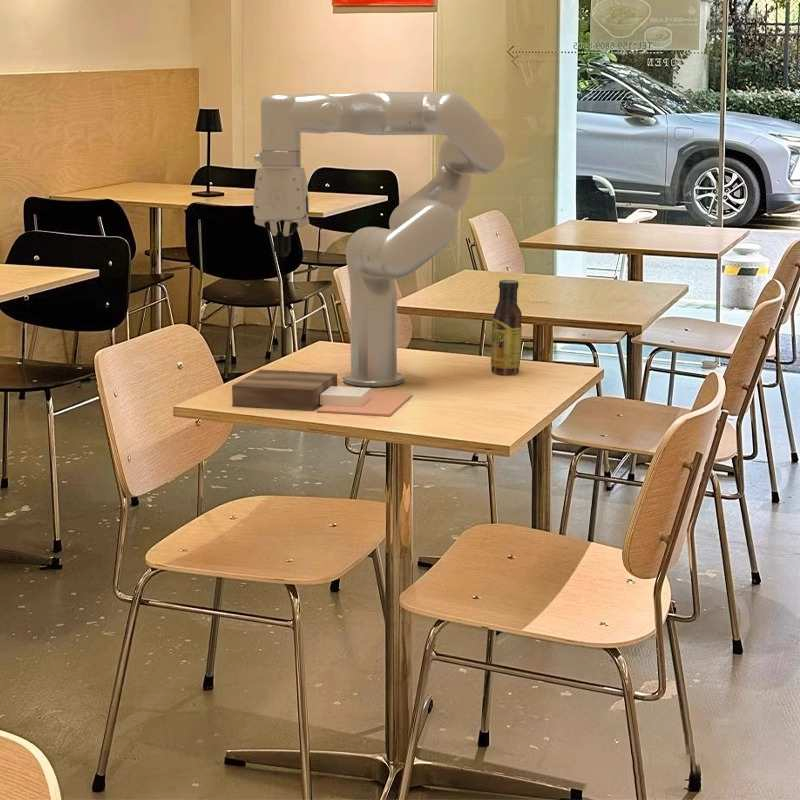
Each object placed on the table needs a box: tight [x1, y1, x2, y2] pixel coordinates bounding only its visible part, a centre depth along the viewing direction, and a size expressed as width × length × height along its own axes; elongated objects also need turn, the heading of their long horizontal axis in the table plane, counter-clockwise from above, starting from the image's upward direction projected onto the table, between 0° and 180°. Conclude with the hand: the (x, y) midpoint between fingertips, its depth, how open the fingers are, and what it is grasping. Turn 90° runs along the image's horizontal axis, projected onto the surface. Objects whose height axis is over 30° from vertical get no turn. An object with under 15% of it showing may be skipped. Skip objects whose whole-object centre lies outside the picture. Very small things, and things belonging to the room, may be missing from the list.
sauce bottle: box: [490, 279, 523, 376], centre depth 287 cm, size 6×6×20 cm
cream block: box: [320, 385, 372, 407], centre depth 260 cm, size 8×8×2 cm
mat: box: [316, 391, 413, 417], centre depth 260 cm, size 18×14×1 cm
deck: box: [231, 369, 338, 412], centre depth 263 cm, size 16×16×4 cm
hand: (282, 255), depth 265 cm, fingers closed
